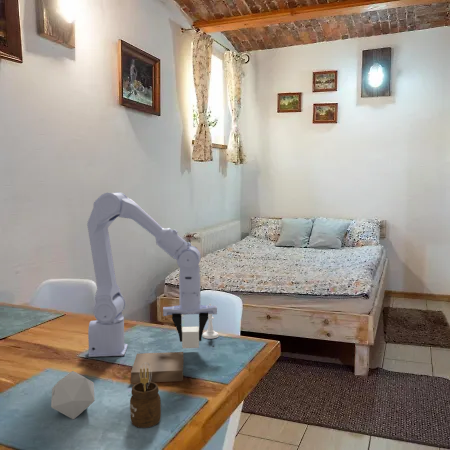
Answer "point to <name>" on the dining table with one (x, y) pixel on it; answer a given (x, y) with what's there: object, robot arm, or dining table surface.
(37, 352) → the dining table surface
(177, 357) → the walnut block
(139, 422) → the utensil holder
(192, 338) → the white cube
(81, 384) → the die
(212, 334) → the chess piece
